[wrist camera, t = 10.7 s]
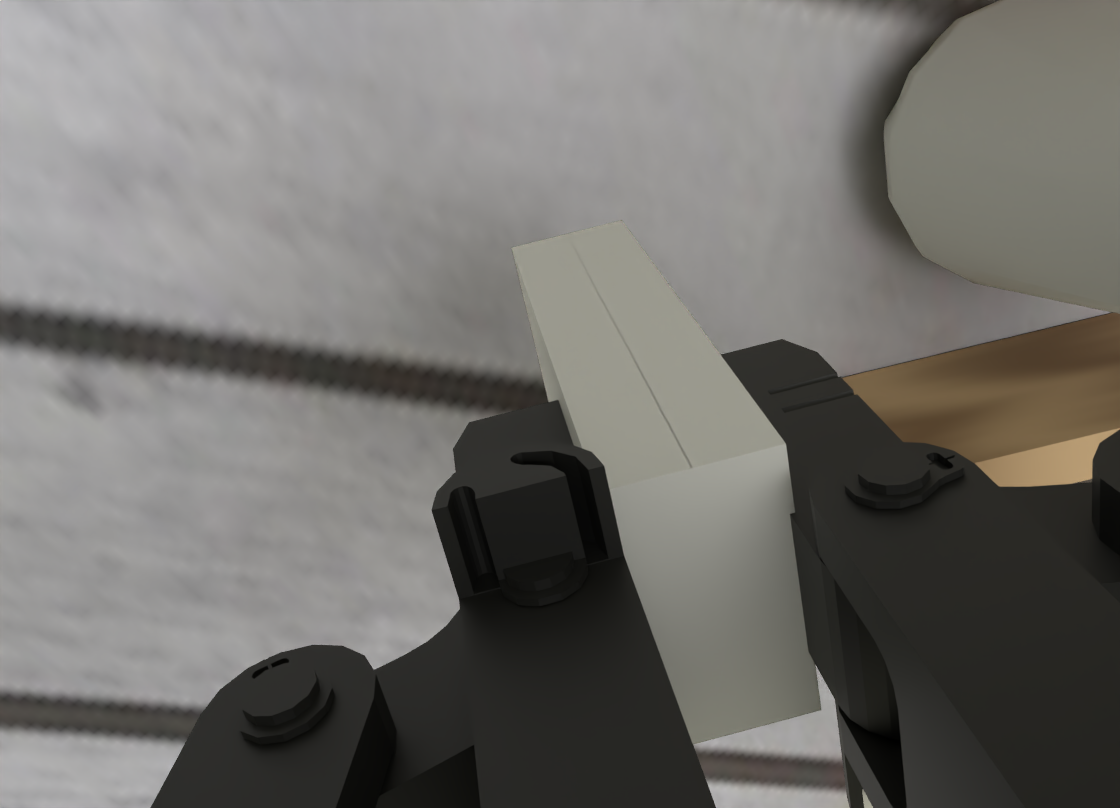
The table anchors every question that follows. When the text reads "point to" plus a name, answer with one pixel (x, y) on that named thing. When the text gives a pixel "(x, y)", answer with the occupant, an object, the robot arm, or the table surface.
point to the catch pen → (1010, 401)
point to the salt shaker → (1016, 150)
